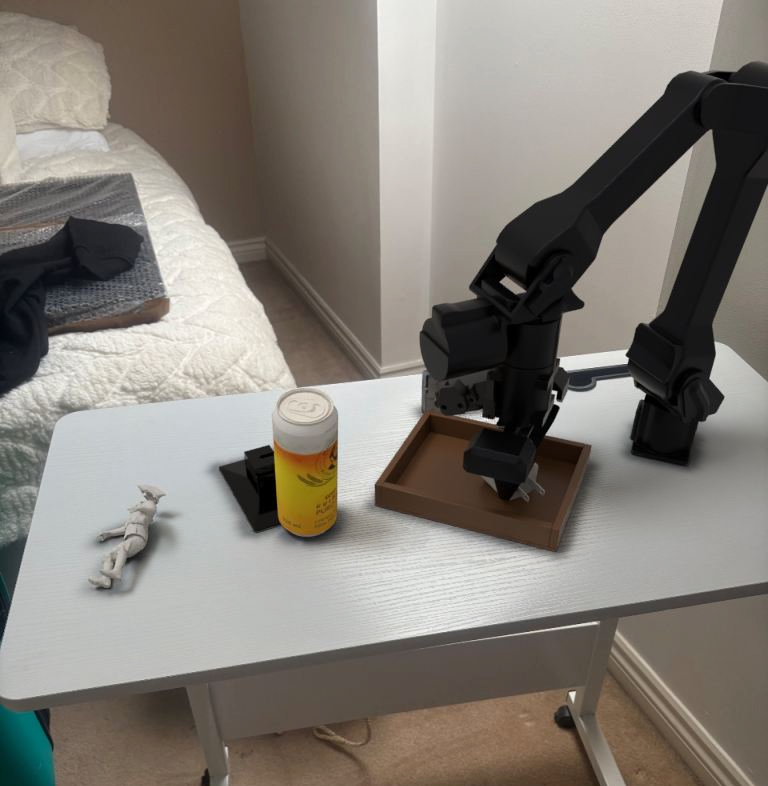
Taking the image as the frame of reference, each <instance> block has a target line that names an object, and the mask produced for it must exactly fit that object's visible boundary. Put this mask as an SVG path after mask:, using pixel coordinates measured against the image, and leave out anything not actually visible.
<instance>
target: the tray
mask: <svg viewBox="0 0 768 786" xmlns="http://www.w3.org/2000/svg"><path fill="white" fill-rule="evenodd" d="M483 428H487V429H491V430H496V431H500V432H503V431H504V430H502V429H497V428H496V423H490V422H486V421H481V420H477V419H472V418H467V417H463V416H459V415H451V416H445V415H444V414H442V413H440V412H435V411H430V410H426V411H425V412H424V414H423V413H422V415H421V416H420V417H419V419H418V421H417V422H416V424H415V425H414V427H413V428H412V429H411V430H410V432H409V434H408V435H407V437H406V438H405V440H404V441H403V442H402V444H401V445H400V447H399V448H398V450H397V451H396V453H395V454H394V456H393V457H392V459H391V460H390V461H389V463H388V464H387V466H386V467H385V469H384V470H383V471H382V472H381V474H380V476H379V477H378V479H377V480H376V482H375V483H374V506H375V507H379V508H383V509H387V510H391V511H394V512H399V513H402V514H406V515H410V516H413V517H414V516H415V517H417V518H422V519H425V520H429V521H434V522H437V523H441V524H446V525H450V526H453V527H457V528H460V529H464V530H468V531H473V532H476V533H481V534H484V535H488V536H493V537H496V538H500V539H502V540H503V539H504V540H507V541H511V542H516V543H520V544H523V545H528V546H532V547H534V548H535V547H536V548H539V549H543V550H547V551H551V552H555V553H556V552H557V549H558V547H559V545H560V542H561V540H562V537H563V534H564V531H565V529H566V526H567V523H568V521H569V518H570V515H571V512H572V510H573V508H574V505H575V503H576V500H577V497H578V495H579V491H580V489H581V487H582V484H583V481H584V478H585V476H586V473H587V470H588V468H589V464H590V459H591V454H592V448H593V444H588V443H584V442H580V441H574V440H570V439H566V438H561V437H557V436H551V435H547V434H546V435H545V437H544V438H543V440H542V441H541V443H540V445H539V446H538V448H537V450H536V454H537V455H538V457H537V459H536V461H535V463H536V464H537V465H538V471H537V476H536V481H535V482H536V483H537V484H538V485H540V486H541V487H542V489H543V490H544V491H545V494H544V496H542V495H541V494H540V493H539V492H538V491H536V490H535V489H534V488H533V490H532V491H531V492H529V493H527V495H528V496H529V502H527V501H525V500H524V499H523V498H522V497H521V496H519V497H517V498H514V499H512V500H509V501H505V500H501V499H500V498H499V496H498V493H497V492H496V491H495V490H494V489H493V488H492V487H491V486H490V485H489V484H488V483H487V482H486V481H485V480H484V479H483V478H482V477H481V476H480V475H476V474H472V473H468V472H466V471H465V470H464V469H463V456H464V451H465V449H466V447H467V446H468V444H469V442H470V441H471V439H472V437H473V435H474V434H475V433H477V432H478V431H480V430H482V429H483ZM541 492H542V493H543V491H542V490H541ZM525 498H526V499H527V497H526V496H525Z"/></svg>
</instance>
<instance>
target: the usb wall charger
mask: <svg viewBox="0 0 768 786" xmlns="http://www.w3.org/2000/svg"><path fill="white" fill-rule="evenodd" d="M537 471H538V465H537V464H536V463H534V466H533V468H532V470H531V471H530V473H529V475H528V477H527V480H526V482H525V483H521V484H520V486H519V487H518V489H517V490H516V491H515V493H514V494H513V496H512V497H511V499H510V500H512V499H514V498H517V497H519V496H521V497H522V498H523V499H524V500H525V501H527V502H529V496H528V495H527V493H529V492H531V491H532V490H533V488H534V489H535V490H536V491H538V492H539V493H540V494H541V495H542V496H544V494H545V491H544V490H543V489H542V487H541V486H540V485H538V484H537V483H536V482H535V481H536V476H537ZM481 477H482V478H483V479H484V480H485V481H486V482H487V483H488V484H489V485H490V486H491V487H492V488H493V489H494V490H495V491H496V492H497V489H496V485H495V482H494V479H493V478H489V477H485V476H481ZM541 490H542V491H543V493H542V492H541ZM525 496H526V497H527V499H526V498H525ZM505 501H506V500H505Z"/></svg>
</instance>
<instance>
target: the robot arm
mask: <svg viewBox="0 0 768 786" xmlns="http://www.w3.org/2000/svg"><path fill="white" fill-rule="evenodd" d="M710 130H711V135H712V144H713V151H714V160H715V169H714V172H713V174H712V177H711V180H710V183H709V187H708V189H707V192H706V195H705V197H704V200H703V203H702V206H701V208H700V210H699V213H698V216H697V219H696V222H695V224H694V227H693V229H692V230H693V231H692V233H691V236H690V239H689V241H688V244H687V247H686V250H685V253H684V255H683V258H682V260H681V263H680V266H679V269H678V271H677V274H676V277H675V280H674V283H673V286H672V288H671V291H670V294H669V297H668V300H667V303H666V305H665V307H664V309H663V311H662V312H660V313H659V314H658V315H657V316H655V318H653V319H651V321H649V322H648V323H645V322H639V323H638V324H637V326H636V327H635V331H634V335H633V339H632V342H631V344H630V346H629V348H628V350H627V351H626V353H625V357H626V358H627V359H628V360H627V365H626V368H627V371H628V372H629V374H630V376H631V378H632V380H633V386H634V387H635V389H637V390H640V391H641V392H643V393H644V394H645V396H644V399H640V400H638V403H637V406H636V408H635V412H634V413H635V414H634V418H633V423H632V427H631V432H630V436H629V440H630V441H632V445H631V448H630V453H631V454H632V455H636V456H639V457H646V458H649V459H655V460H658V461H659V460H660V461H664V462H669V463H673V464H678V465H683V466H688V465H689V464H690V461H691V458H692V452H693V449H694V448H693V447H694V444H695V440H696V434H697V431H698V427H699V423H704V422H706V421H707V418H708V417H709V416H712V415H716V414H717V412H718V411H719V409H720V407H721V406H722V404H723V402H724V400H725V395H724V394H723V393H722V391H721V390H720V389H719V388H718V387H717V385H716V384H715V383H714V382H713V381H712V380H711V379H710V378H711V374H712V371H713V367H714V364H715V360H716V356H717V350H716V344H715V336H714V327H713V324H714V320H715V318H716V316H717V313H718V311H719V308H720V305H721V303H722V300H723V298H724V296H725V293H726V290H727V287H728V285H729V283H730V280H731V278H732V275H733V273H734V270H735V268H736V265H737V263H738V260H739V258H740V255H741V253H742V251H743V248H744V246H745V244H746V243H745V242H746V240H747V238H748V235H749V233H750V230H751V227H752V226H753V223H754V221H755V218H756V216H757V213H758V211H759V208H760V205H761V203H762V200H763V198H764V196H765V193H766V190H767V188H768V62H764V61H760V60H757V61H750V62H748V63H746V64H744V65H742V66H741V67H740V68H739V69H738V70H736V71H734V70H718V69H717V70H716V69H715V70H714V69H712V70H711V69H710V70H707V71H702V72H699V71H695V70H687V71H683V72H679V73H677V74H676V75H675V76H674V77H672V78H671V80H670V81H669V82H668V83H667V85H666V87H665V89H664V91H663V94H662V95H661V96H660V97H659V98H658V99H657V100H656V101H655V102H653V104H652V105H651V106H650V107H649V108H648V109H647V110H646V111H645V112H644V113H643V114H641V116H640V117H639V118H638V119H637V120H636V121H635V122H634V123H633V124H632V125H631V126H629V128H627V130H625V132H624V133H622V135H621V136H620V137H619V138H617V140H616V141H615V142H613V144H612V145H611V146H610V147H609V148H608V149H607V150H605V151H604V152H603V153H602V154H601V155H600V157H598V159H596V160H595V161H594V162H593V163H592V164H591V166H589V167H588V169H586V170H585V171H584V172H583V174H581V175H580V176H579V177H578V178H577V179H576V180H575V181H574V182H573V183H572V184H571V185H570V186H568V187H567V188H566V189H564V190H563V191H561V192H559V193H557V194H554V195H551V196H548V197H546V198H543V199H541V200H539V201H536V202H535V203H534V202H533V204H532V205H531V206H529V207H528V208H526V209H524V211H522V212H520V213H519V214H518V215H517V216H516V217H514V218H513V219H511V220H509V222H508V223H507V224H506V225H505V226H504V227H503V229H502V230H501V231H500V232H499V234H498V236H497V238H496V239H495V246H494V247H493V249H492V251H491V252H490V254H489V255H488V257H487V259H486V260H485V261H484V262H483V264H482V266H481V267H480V269H479V270H478V271H477V273H476V275H475V276H474V278H473V279H472V280H471V282H470V284H469V286H468V290H469V291H470V292H471V293H472V294H474V295H475V296H476V298H471V299H467V300H462V301H457V302H443V303H442V302H441V303H437V304H434V305H433V306H432V307H431V317H429V318H426V320H424V322H423V325H422V328H421V330H420V331H419V335H418V336H419V337H418V338H419V340H418V341H419V349H420V355H421V358H422V361H423V364H424V367H425V368H426V369H425V370H427V371H428V373H429V374H430V376H431V377H432V378H433V379H434V380H436V381H439V383H438V384H437V386H436V388H437V390H436V392H435V395H436V401H435V402H434V405H435V406H436V407H437V408H440V411H441V413H442V414H444V415H445V416H451V415H454V416H461V415H465V414H466V413H468V412H477V411H481V410H482V411H481V418H484V419H489V420H495V419H496V418H497V419H498V420H497V422H496V423H495V424H496V428H497V429H502V430H504V431H503V432H500V431H496V430H491V429H487V428H483V429H482V430H480V431H478V432H477V433H475V434H474V435H473V437H472V439H471V441H470V442H469V444H468V446H467V447H466V449H465V451H464V456H463V469H464V470H465V471H466V472H468V473H472V474H476V475H480V476H485V477H489V478H493V479H494V482H495V485H496V489H497V493H498V496H499V498H500V499H501V500H506V501H509V500H510V499H511V497H512V496H513V494H514V493H515V491H516V490H517V489H518V487H519V486H520V484H521V483H525V482H526V480H527V477H528V475H529V473H530V471H531V470H532V468H533V466H534V463H535V461H536V459H537V457H538V455H537V454H536V450H537V448H538V446H539V445H540V443H541V441H542V440H543V438H544V437H545V435H547V434H548V432H549V431H550V428H551V427H552V426H553V424H554V422H555V420H556V418H557V416H558V415H559V411H560V409H561V407H560V406H559V405H558V404H556V403H555V400H556V402H558V403H561V404H562V403H563V402H564V401H565V398H566V396H567V393H568V392H569V385H570V379H571V376H570V374H569V373H568V372H567V371H566V370H565V368H564V367H563V366H560V364H561V358H560V357H558V351H559V343H560V338H561V331H562V330H561V329H562V324H563V317H564V314H566V313H569V312H576V311H579V310H582V309H583V308H585V305H586V304H585V301H583V300H582V299H581V298H580V297H578V295H577V294H576V293H575V291H574V290H573V287H574V286H575V285H576V284H577V283H578V281H580V279H581V278H582V276H584V274H585V273H586V271H587V270H588V269H589V268H590V267H591V265H592V264H593V263H594V261H595V260H596V258H597V256H598V253H599V250H600V248H601V247H600V246H601V243H602V241H603V238H604V235H605V234H606V233H607V232H608V231H609V229H610V228H611V226H613V224H615V222H617V220H618V219H620V217H622V216H623V214H624V213H625V212H627V210H629V209H630V208H631V207H632V205H634V204H635V203H636V202H637V201H638V200H639V199H640V198H641V197H642V196H643V195H644V194H645V193H646V192H647V191H649V189H650V188H651V187H652V186H653V185H655V184H656V183H657V181H659V179H660V178H662V176H663V175H665V173H667V172H668V170H670V169H671V168H672V167H673V166H674V165H675V164H676V163H677V162H678V161H679V160H680V159H681V158H682V157H683V156H684V155H685V154H686V153H687V152H688V151H689V150H690V149H691V148H693V146H695V145H696V144H697V143H698V141H699V140H701V139H702V137H703V136H705V135H706V134H707V133H708V132H709V131H710ZM506 278H507V279H508V280H510V281H511V282H513V283H514V284H515V285H517V286H518V287H520V289H522V290H524V291H522V292H518V293H516V292H513V291H512V290H511V289H510V288H508V287H507V286H505V285H504V284H503V283H501V282H502V280H504V279H506ZM553 392H556V393H553Z"/></svg>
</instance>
